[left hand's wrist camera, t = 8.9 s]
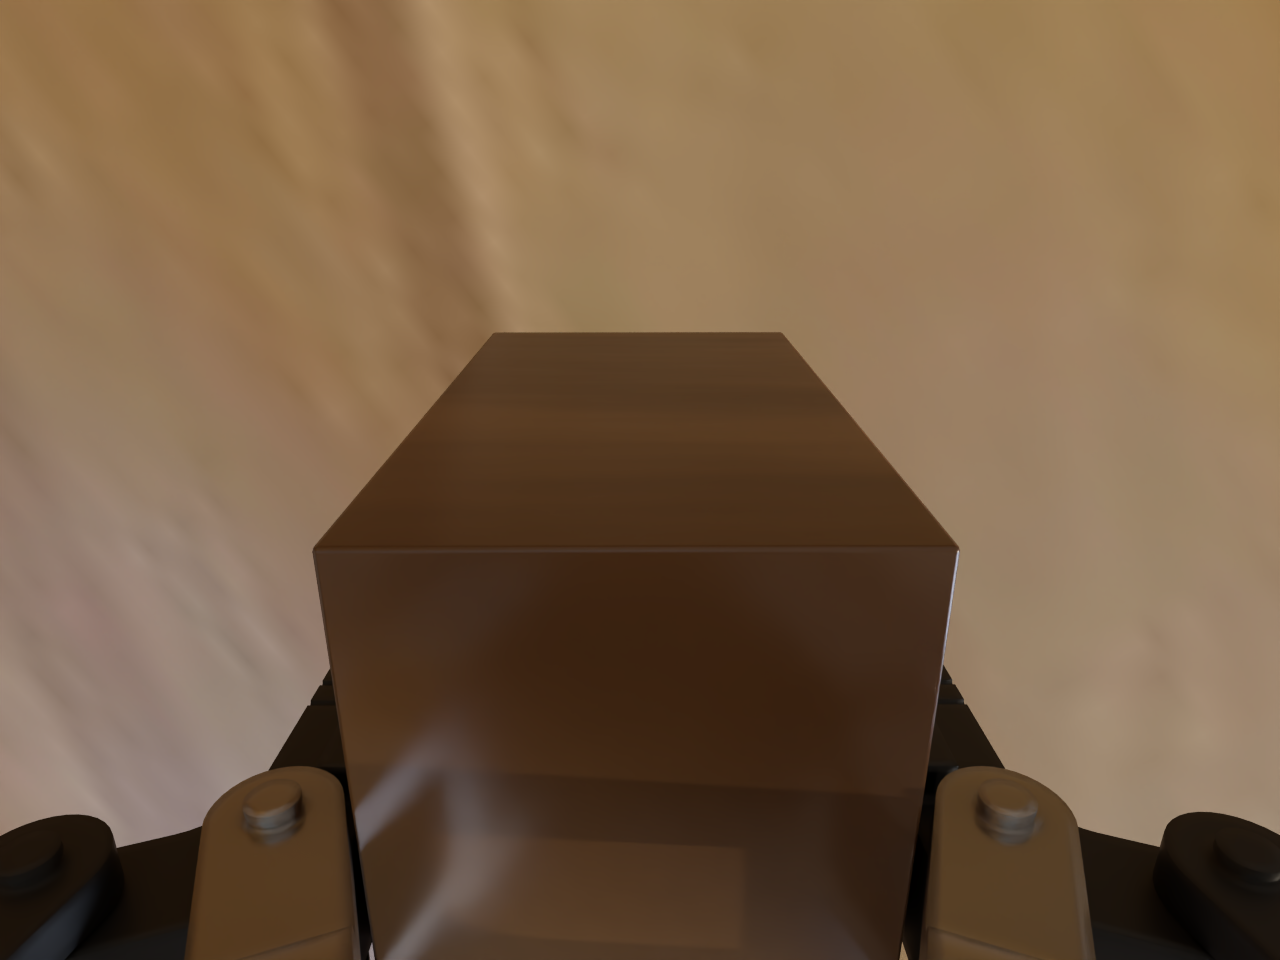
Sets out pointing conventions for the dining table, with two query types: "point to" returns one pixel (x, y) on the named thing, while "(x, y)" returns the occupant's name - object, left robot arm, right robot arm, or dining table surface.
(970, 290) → the dining table surface
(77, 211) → the dining table surface
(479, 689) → the bar
